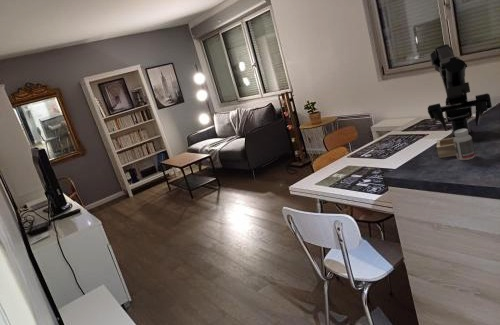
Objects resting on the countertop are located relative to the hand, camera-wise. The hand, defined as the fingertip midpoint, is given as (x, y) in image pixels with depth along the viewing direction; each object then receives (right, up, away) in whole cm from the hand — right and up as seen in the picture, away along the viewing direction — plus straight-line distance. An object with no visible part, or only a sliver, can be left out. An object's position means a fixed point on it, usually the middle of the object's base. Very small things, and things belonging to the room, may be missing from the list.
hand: (461, 127), depth 121 cm
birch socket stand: (+2, -8, +9) cm, 12 cm away
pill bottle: (+2, -10, 0) cm, 10 cm away
